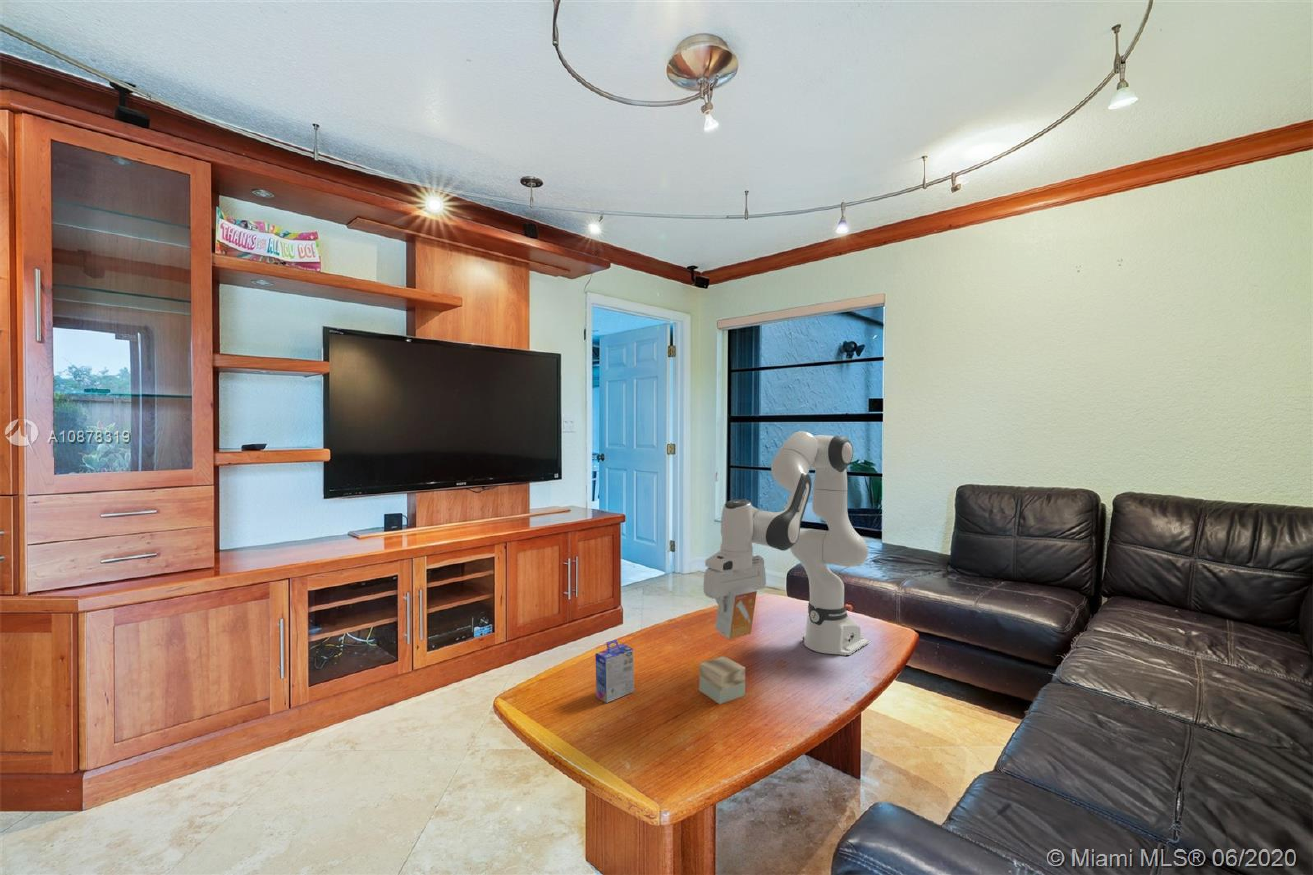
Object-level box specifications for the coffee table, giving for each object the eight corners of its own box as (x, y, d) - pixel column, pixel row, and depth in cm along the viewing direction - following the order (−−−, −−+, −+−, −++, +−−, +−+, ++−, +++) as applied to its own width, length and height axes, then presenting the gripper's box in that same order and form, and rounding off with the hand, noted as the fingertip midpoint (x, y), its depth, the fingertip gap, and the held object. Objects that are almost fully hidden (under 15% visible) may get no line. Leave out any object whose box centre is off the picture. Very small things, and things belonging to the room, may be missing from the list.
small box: (729, 640, 148) (735, 595, 146) (714, 629, 153) (720, 585, 151) (751, 634, 152) (757, 590, 150) (736, 623, 157) (742, 581, 155)
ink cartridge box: (622, 684, 157) (622, 634, 157) (635, 692, 153) (635, 640, 152) (594, 696, 150) (594, 644, 150) (606, 704, 146) (606, 650, 146)
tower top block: (723, 669, 159) (723, 656, 159) (745, 681, 152) (745, 667, 152) (699, 677, 154) (699, 663, 154) (720, 690, 147) (720, 676, 146)
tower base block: (724, 683, 159) (724, 669, 159) (745, 696, 151) (745, 682, 151) (699, 691, 154) (699, 677, 154) (719, 705, 147) (720, 691, 146)
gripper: (755, 552, 160) (755, 599, 160) (700, 561, 148) (699, 611, 149) (771, 556, 154) (770, 605, 155) (715, 566, 143) (714, 618, 143)
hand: (735, 608), depth 152 cm, fingers closed on small box, 8 cm apart
